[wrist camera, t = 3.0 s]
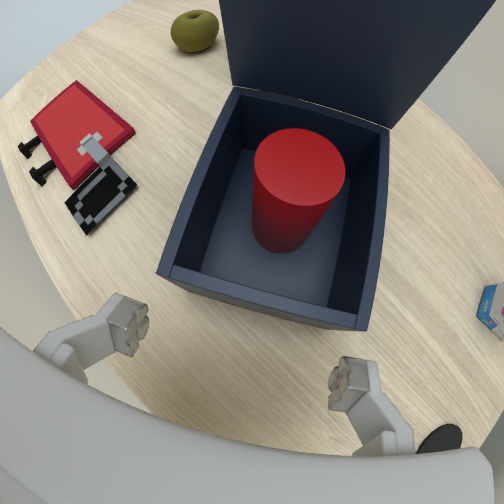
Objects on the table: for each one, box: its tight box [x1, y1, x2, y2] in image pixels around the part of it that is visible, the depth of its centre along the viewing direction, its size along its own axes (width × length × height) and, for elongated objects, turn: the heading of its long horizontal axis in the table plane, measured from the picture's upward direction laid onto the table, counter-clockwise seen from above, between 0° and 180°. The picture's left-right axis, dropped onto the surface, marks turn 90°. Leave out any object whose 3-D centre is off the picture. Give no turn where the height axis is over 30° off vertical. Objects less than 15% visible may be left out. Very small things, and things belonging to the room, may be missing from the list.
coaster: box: [416, 424, 462, 454], centre depth 23 cm, size 8×8×1 cm
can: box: [252, 128, 345, 254], centre depth 23 cm, size 6×6×12 cm
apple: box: [171, 10, 219, 52], centre depth 34 cm, size 8×8×7 cm
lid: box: [219, 0, 496, 129], centre depth 13 cm, size 19×15×5 cm
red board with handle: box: [18, 80, 137, 235], centre depth 32 cm, size 30×3×15 cm
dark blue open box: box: [156, 87, 390, 331], centre depth 25 cm, size 18×15×10 cm
